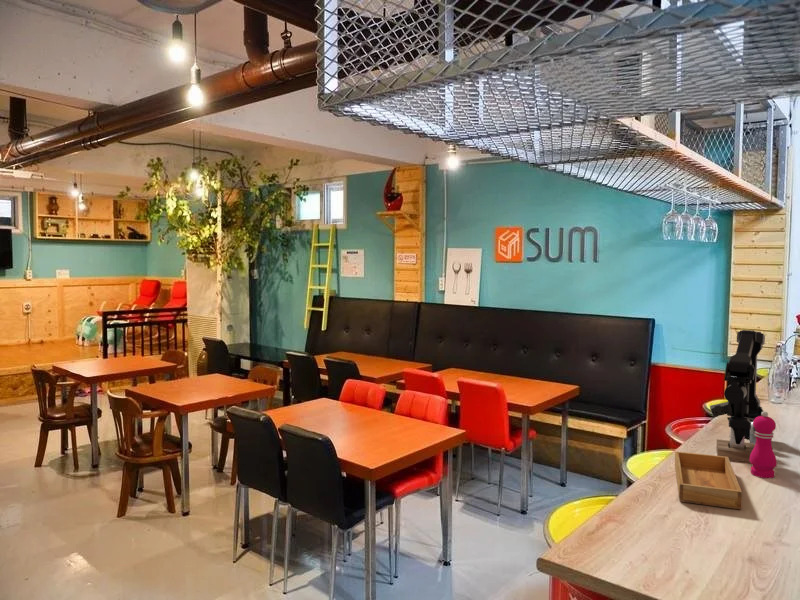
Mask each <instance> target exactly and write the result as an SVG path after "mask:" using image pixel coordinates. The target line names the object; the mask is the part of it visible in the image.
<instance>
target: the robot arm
mask: <svg viewBox="0 0 800 600" xmlns="http://www.w3.org/2000/svg"><path fill="white" fill-rule="evenodd" d="M736 342H737V343H738V344H737V347H736V352H735V354H732V356H730V358H729V361H728V362H726V364H725V365H726V367H725V372H724V380H723V381H725V382H729V383H728V386H727V387H726V388H725V390H724V392H723V396H724V398H725V399H726V400H727V401H726V402H725V401H724V402H720V403H716V404H712V405H709V410H710V412H711V414H712V417H713V418H718V417H719V416H724V415H726V416H729V417H726V418H727V420H728V424H727V425H728V427H729V428H730V427H731V428H732V429H733V430H734V436H735V441H736V444H740V443H741V441H742V439H743V437H744V436H745V439H750V429H751V422H750V421H754V419H755V418H756V417H758V416H762V415H761V413H762V412H763V411H764V410H763V409H764V408H763V407H762V406H761V400H760V399H759V397H758V396H757V394H756V393H757V372H758V371H757V369H758V354H760V353H761V351H762V350H763V347H764V346H765V343H766V335H765V334H764V333H762V332H761V331H755V330H751V329H742V330H740V331H736ZM763 345H764V346H763Z"/></svg>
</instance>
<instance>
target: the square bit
mask: <svg viewBox="0 0 800 600" xmlns="http://www.w3.org/2000/svg"><path fill="white" fill-rule="evenodd" d="M729 429H730V430H729V431H730V434H729V435H730V436H729V441H730V448H735V449H743V450H744V442H745V439H746V438H745V436H744V437H743V439H742V441H741V443H740V444H736V441H735V436H734V430H733V429H732V428H731V427H729Z"/></svg>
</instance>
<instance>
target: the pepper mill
mask: <svg viewBox="0 0 800 600" xmlns="http://www.w3.org/2000/svg"><path fill="white" fill-rule="evenodd" d="M761 415H762V416H758V417H756V418H755V419H754V421H753V426H754V428H755V429H756V430H755V434H754V435H755V436H756V444H755V447H754V449H753V450H752V452H751V454H750V459H749V461H750V462H749V463H750V464H751V467H750V474H751V475H753V476H755V477H757V478H761V479H773V478H775V474H776V473H775V470H774V469H775V468H776V467H777V465H778V464H777V463H778V462H777V457H776V454H775V452H774V450H773V445H772V439H773V438H774V431H775V430H776V429H777V428H776V427H777V425H776V421H775V420H774V419H773V417H770V416H769V413H768V411H765V410H763V412H762V413H761Z"/></svg>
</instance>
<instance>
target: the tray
mask: <svg viewBox="0 0 800 600" xmlns="http://www.w3.org/2000/svg"><path fill="white" fill-rule="evenodd" d="M674 469H675V477H676V484H677V491H678V500H679V502H683V503H688V504H690V503H691V504H696V505H704V506H705V505H706V506H712V507H713V506H714V507H720V508H729V509H734V510H742V505H743V503H742V499H743V495H742V494H743V492H742V488H741V487H740V484H739V482H738V479H737V477H736V474H735V471H734V469H733V466H732V464H731V460H729V458H728V457H725V456H717V455H715V454H714V455H713V454H706V453H705V454H704V453H694V452H685V451H683V452H682V451H676V450H675V451H674Z"/></svg>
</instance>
